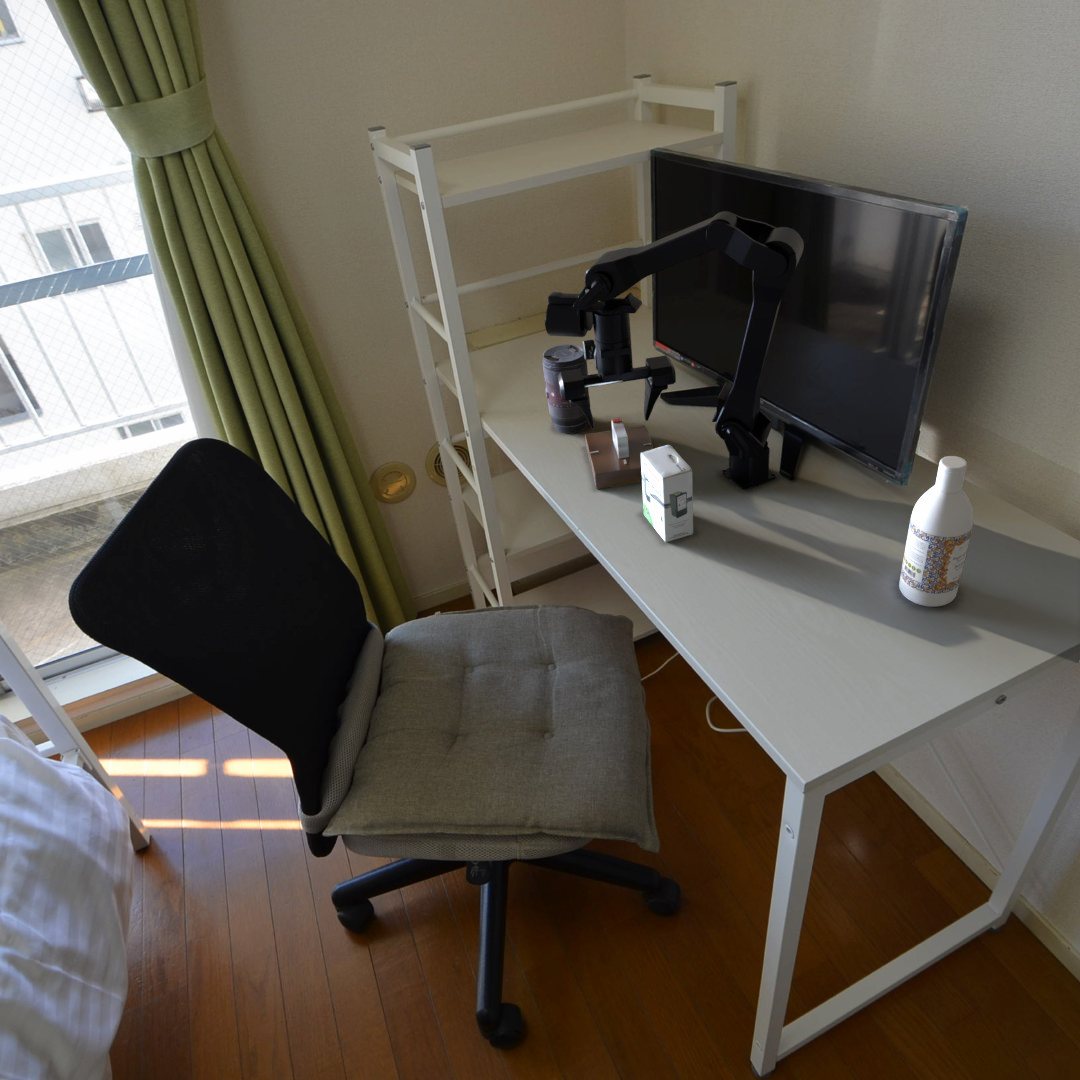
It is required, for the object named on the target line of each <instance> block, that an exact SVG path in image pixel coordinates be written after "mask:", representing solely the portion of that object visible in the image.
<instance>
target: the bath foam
mask: <svg viewBox="0 0 1080 1080" xmlns="http://www.w3.org/2000/svg"><path fill="white" fill-rule="evenodd" d="M967 468H968V462H967V461H966V459H964V458H963V457H960V456H956V455H948V456H944V457H942V458H941V459H940V460H939V464H938V468H937V474H936V480H935V484H934V485H933V486H932V487H930V488H929V489H928V490H927V491H925V492H924V493H923V494H922V495H921V496H920V497H919V499H918V500H917V501H916V503H915V504H914V507H913V509H912V512H911V515H910V519H909V525H908V531H907V537H906V542H905V547H904V548H905V549H904V552H903V553H904V554H903V559H902V566H901V571H900V577H899V582H898V587H899V590H900V592H901V594H902V596H904V597H905V599H908V600H909V601H910V602H911V603H914V604H916V605H919V606H923V607H930V608H931V607H932V608H934V607H942V606H946V605H948V604H951V602H952V601H954V599H955V598H956V596H957V594H958V590H959V587H960V582H961V577H962V573H963V570H964V566H965V562H966V556H967V553H968V548H969V545H970V539H971V536H972V532H973V527H974V519H975V518H974V509H973V504H972V503H971V501H970V499H969V496H968V495H967V494H966V492H965V491H964V488H963V486H964V482H965V478H966V472H967Z"/></svg>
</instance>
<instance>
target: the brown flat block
mask: <svg viewBox="0 0 1080 1080" xmlns="http://www.w3.org/2000/svg"><path fill="white" fill-rule="evenodd" d="M625 430H626V433H627V436H628V448H629V457H625V458H618V454H617V451H616V448H615V445H614V441H613V433H612V429H611V430H610V429H609V430H605V431H604V430H603V431H598V432H591V433H585V434H584V437H585V438H584V440H585V448H586V453H587V456H588V461H589V465H590V469H591V473H592V477H593V480H594V484H595V488H596V490H599V489H601V490H602V489H605V488H606V489H607V488H614V487H621V486H627V485H634V484H642V471H641V452H644V451H647V450H651V449H654V445H653V442H652V440H651V437H650V435H649V432H648V430H647V427H646V425H644V424H643V425H636V426H632V427H631V426H630V427H625Z"/></svg>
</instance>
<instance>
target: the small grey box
mask: <svg viewBox="0 0 1080 1080" xmlns="http://www.w3.org/2000/svg"><path fill="white" fill-rule="evenodd" d="M610 422H611V430H612V433H613V441H614V445H615V448H616V451H617V454H618V458H625V457H629V448H628V436H627V433H626V430H625V428H626V427H625V425H624V422H623V419H622V418H619V417H618V418H613V419H612V420H611V421H610Z"/></svg>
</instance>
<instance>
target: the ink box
mask: <svg viewBox="0 0 1080 1080" xmlns="http://www.w3.org/2000/svg"><path fill="white" fill-rule="evenodd" d="M641 471H642V482H641V488H642V507H643V516H644V517H645V518H646V519H647V521H648V522H649V524H650V525H651V526H652V527H653V529H655V531H656V533H657V534H658V535H659V536H660V538H661V539H663V541H664V543H667V542H668V543H669V542H671V541H676V540H678V539H682V538H685V537H688V536H691V535H693V534H694V508H693V507H694V505H693V504H694V503H693V500H694V499H693V470H692V468H691V466H690V465H689V464H688V463H687V461H685V459H683V457H682V456H681V455H680V454H679V453H678V451H676V449H675V448H674V447H673V446H672V445H671V444H665V445H662V446H659V447H655V448H654V449H651V450H647V451H644V452H641Z"/></svg>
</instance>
